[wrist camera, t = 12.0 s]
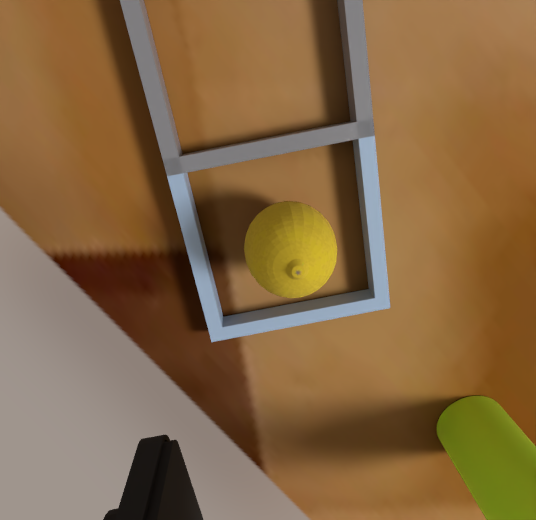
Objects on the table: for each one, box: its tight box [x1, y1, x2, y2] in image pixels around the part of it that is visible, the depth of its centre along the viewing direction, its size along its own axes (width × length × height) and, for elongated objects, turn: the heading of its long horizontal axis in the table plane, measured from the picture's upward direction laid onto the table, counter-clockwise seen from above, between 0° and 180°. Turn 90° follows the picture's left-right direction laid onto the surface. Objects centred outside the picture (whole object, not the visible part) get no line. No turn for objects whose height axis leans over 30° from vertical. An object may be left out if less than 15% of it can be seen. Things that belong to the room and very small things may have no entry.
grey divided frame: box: [120, 0, 390, 342], centre depth 26 cm, size 25×13×2 cm, turn 10°
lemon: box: [244, 201, 337, 298], centre depth 25 cm, size 6×6×8 cm
